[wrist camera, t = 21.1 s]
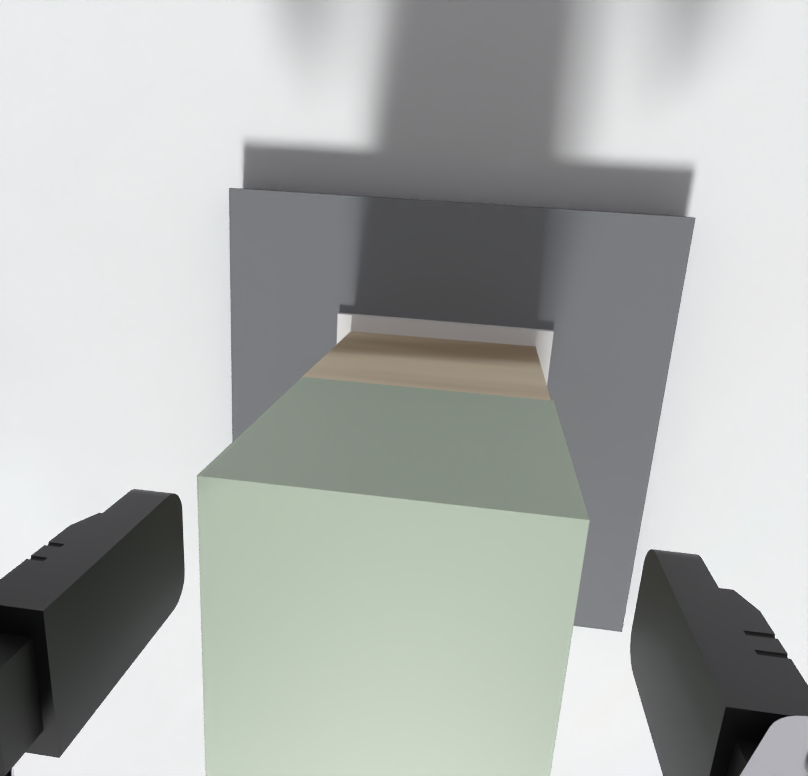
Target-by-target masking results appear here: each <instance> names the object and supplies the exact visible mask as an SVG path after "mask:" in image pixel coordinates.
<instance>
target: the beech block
mask: <svg viewBox="0 0 808 776" xmlns="http://www.w3.org/2000/svg"><path fill="white" fill-rule="evenodd" d="M302 377H309V378H320V379H330V380H341V381H351V382H362V383H372V384H383V385H393V386H404V387H414V388H425V389H435V390H446V391H456V392H467V393H478V394H488V395H499V396H509V397H520V398H530V399H541V400H551V398H550V395H549V392H548V388H547V385H546V381H545V378H544V374H543V371H542V367H541V364H540V360H539V357H538V353H537V350H536V346H524V345H512V344H500V343H487V342H475V341H463V340H451V339H439V338H426V337H414V336H402V335H390V334H378V333H365V332H353V331H350V332H349V333H348V334H347V335H346V336H345V337H344V338H343V339H342V340H341V341H340V342H339V343H338V344H337V345H335V346H334V347H333V348H332V349H331V350H330V351H329V352H328V353H327V354H326V355H325V356H324V357H323V358H322V359H321V360H319V361H318V362H317V363H316V364H315V365H314V366H313V367H312V368H311V369H310V370H309V371H308V372H307V373H306V374H305V375H303V376H302ZM302 377H301V378H302ZM301 378H300V379H301Z"/></svg>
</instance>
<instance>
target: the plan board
mask: <svg viewBox="0 0 808 776" xmlns="http://www.w3.org/2000/svg"><path fill="white" fill-rule="evenodd" d="M229 216H230V289H231V361H232V434H233V441H235V440H236V439H237V438H238V437H239V436H240V435H241V434H242V433H243V432H244V431H245V430H246V429H247V428H248V427H249V426H250V425H252V424H253V423H254V422H255V421H256V420H257V419H258V418H259V417H260V416H261V415H262V414H263V413H264V412H265V411H266V410H268V409H269V408H270V407H271V406H272V405H273V404H274V403H275V402H276V401H277V400H278V399H279V398H280V397H281V396H282V395H283V394H285V393H286V392H287V391H288V390H289V389H290V388H291V387H292V386H293V385H294V384H295V383H296V382H297V381H298V380H299V379H300V378H301V377H302V376H303V375H305V374H306V373H307V372H308V371H309V370H310V369H311V368H312V367H313V366H314V365H315V364H316V363H317V362H318V361H319V360H321V359H322V358H323V357H324V356H325V355H326V354H327V353H328V352H329V351H330V350H331V349H332V348H333V347H334V346H335V345H337V344H338V343H339V342H340V341H341V340H342V339H343V338H344V337H345V336H346V335H347V334H348V333H349V332H350V331H353V332H365V333H378V334H390V335H402V336H414V337H426V338H439V339H451V340H463V341H475V342H487V343H500V344H512V345H524V346H536V350H537V353H538V357H539V360H540V364H541V367H542V371H543V374H544V378H545V381H546V385H547V388H548V392H549V395H550V398H551V401H554V403H555V406H556V410H557V413H558V416H559V420H560V423H561V426H562V430H563V433H564V436H565V440H566V443H567V446H568V450H569V453H570V456H571V460H572V463H573V466H574V470H575V473H576V476H577V480H578V483H579V486H580V490H581V493H582V496H583V500H584V503H585V506H586V510H587V513H588V516H589V520H590V521H589V528H588V534H587V540H586V547H585V553H584V560H583V566H582V573H581V579H580V586H579V592H578V599H577V605H576V611H575V618H574V624H573V626H581V627H588V628H596V629H604V630H612V631H619V632H622V628H623V622H624V616H625V611H626V605H627V599H628V594H629V588H630V583H631V577H632V571H633V566H634V560H635V555H636V549H637V543H638V538H639V532H640V526H641V521H642V515H643V510H644V504H645V498H646V493H647V487H648V481H649V476H650V470H651V465H652V459H653V453H654V448H655V442H656V436H657V431H658V425H659V420H660V414H661V408H662V403H663V397H664V392H665V386H666V380H667V375H668V369H669V363H670V358H671V352H672V347H673V341H674V335H675V330H676V324H677V318H678V313H679V307H680V302H681V296H682V290H683V285H684V279H685V274H686V268H687V262H688V257H689V251H690V245H691V240H692V234H693V229H694V223H695V218H692V217H681V216H665V215H650V214H634V213H618V212H602V211H587V210H571V209H555V208H539V207H524V206H508V205H492V204H476V203H461V202H445V201H429V200H413V199H398V198H382V197H366V196H350V195H335V194H319V193H303V192H287V191H272V190H256V189H238V188H229Z"/></svg>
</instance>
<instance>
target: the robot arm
mask: <svg viewBox="0 0 808 776" xmlns="http://www.w3.org/2000/svg"><path fill="white" fill-rule="evenodd" d="M183 584H184V545H183V519H182V505H181V501H180V498H179V496H178V495H176V494H173V493H164V492H155V491H146V490H138V489H134V490H131V491H130V492H128V493H127V494H126V495H125V496H123V497H122V498H121V499H120V500H118V501H117V502H116V503H115V504H113V505H112V506H111V507H110V508H108V509H107V510H106V511H105V512H104V513H98V514H96V515H93V516H91V517H89V518H86V519H84V520H82V521H79V522H77V523H75V524H72V525H70V526H69V527H67V528H66V529H65V530H64V531H62V532H61V533H60V534H58V535H57V536H56V537H55V538H53V539H52V540H51V541H49V544H48V546H46V545H44V546H43V547H42V548H40V549H39V550H38V551H36V552H35V553H34V554H33V555H31V559H26V560H25V561H24V562H22V563H21V564H20V565H18V566H17V567H16V568H15V569H13V570H12V571H11V572H9V573H8V574H7V575H6V576H4V577H3V578H2V579H0V776H14V771H13V766H14V765H15V764H16V763H17V761H18V760H19V759H20V758H21V757H22V755H23V754H24V753H25V752H27V753H33V754H39V755H46V756H52V757H58V758H60V756H61V755H62V754H63V752H64V751H65V750H66V748H67V747H68V746H69V745H70V743H71V742H72V741H73V739H74V738H75V737H76V736H77V734H78V733H79V732H80V730H81V729H82V728H83V726H84V725H85V724H86V723H87V721H88V720H89V719H90V717H91V716H92V715H93V714H94V712H95V711H96V710H97V708H98V707H99V706H100V705H101V703H102V702H103V701H104V699H105V698H106V697H107V695H108V694H109V693H110V692H111V690H112V689H113V688H114V686H115V685H116V684H117V683H118V681H119V680H120V679H121V677H122V676H123V675H124V673H125V672H126V671H127V670H128V668H129V667H130V666H131V664H132V663H133V662H134V661H135V659H136V658H137V657H138V655H139V654H140V653H141V651H142V650H143V649H144V648H145V646H146V645H147V644H148V642H149V641H150V640H151V639H152V637H153V636H154V635H155V633H156V632H157V631H158V630H159V628H160V627H161V626H162V624H163V623H164V622H165V620H166V619H167V618H168V617H169V615H170V614H171V613H172V611H173V610H174V609H175V607H176V605H177V603H178V601H179V598H180V596H181V592H182V589H183ZM630 654H631V665H632V671H633V675H634V678H635V682H636V685H637V688H638V692H639V695H640V698H641V702H642V705H643V709H644V712H645V715H646V719H647V722H648V726H649V729H650V732H651V736H652V739H653V743H654V746H655V749H656V753H657V756H658V760H659V763H660V766H661V770H662V773H663V776H808V685H807V683H806V682H805V680H804V679H803V677H802V676H801V674H800V673H799V671H798V669H797V668H796V666H795V665H794V663H793V662H792V660H791V659H788V658H787V652H786V651H785V649H784V648H783V646H782V645H781V643H780V642H779V640H778V639H775V634H774V632H773V631H772V629H771V628H770V626H769V624H768V623H767V621H766V620H765V618H764V617H763V615H762V614H761V612H760V611H759V610H758V609H757V608H755V607H754V606H753V605H752V604H750V603H749V602H748V601H747V600H745V599H744V598H743V597H742V596H740V595H739V594H738V593H737V592H735V591H734V590H730V589H722V588H718V586H717V584H716V582H715V581H714V579H713V577H712V575H711V574H710V572H709V570H708V569H707V567H706V565H705V563H704V562H703V560H702V558H701V557H700V556H699V555H696V554H687V553H679V552H670V551H661V550H652V549H651V550H649V551H648V553H647V555H646V557H645V561H644V565H643V571H642V576H641V582H640V587H639V593H638V598H637V604H636V609H635V615H634V620H633V626H632V632H631V643H630Z"/></svg>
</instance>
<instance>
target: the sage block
mask: <svg viewBox="0 0 808 776" xmlns="http://www.w3.org/2000/svg"><path fill="white" fill-rule="evenodd" d="M197 493H198V528H199V563H200V597H201V632H202V666H203V701H204V735H205V770H206V776H550V773H551V766H552V760H553V753H554V747H555V740H556V734H557V727H558V721H559V715H560V708H561V702H562V695H563V689H564V682H565V676H566V669H567V663H568V657H569V650H570V644H571V637H572V631H573V624H574V618H575V611H576V605H577V599H578V592H579V586H580V579H581V573H582V566H583V560H584V553H585V547H586V540H587V534H588V528H589V521H590V520H589V516H588V513H587V510H586V506H585V503H584V500H583V496H582V493H581V490H580V486H579V483H578V480H577V476H576V473H575V470H574V466H573V463H572V460H571V456H570V453H569V450H568V446H567V443H566V440H565V436H564V433H563V430H562V426H561V423H560V420H559V416H558V413H557V410H556V406H555V403H554V401H551V400H541V399H530V398H520V397H509V396H499V395H488V394H478V393H467V392H456V391H446V390H435V389H425V388H414V387H404V386H393V385H383V384H372V383H362V382H351V381H341V380H330V379H320V378H309V377H302V378H301V379H299V380H298V381H297V382H296V383H295V384H294V385H293V386H292V387H291V388H290V389H289V390H288V391H287V392H286V393H285V394H283V395H282V396H281V397H280V398H279V399H278V400H277V401H276V402H275V403H274V404H273V405H272V406H271V407H270V408H269V409H268V410H266V411H265V412H264V413H263V414H262V415H261V416H260V417H259V418H258V419H257V420H256V421H255V422H254V423H253V424H252V425H250V426H249V427H248V428H247V429H246V430H245V431H244V432H243V433H242V434H241V435H240V436H239V437H238V438H237V439H236V440H235V441H233V442H232V443H231V444H230V445H229V446H228V447H227V448H226V449H225V450H224V451H223V452H222V453H221V454H220V455H219V456H218V457H216V458H215V459H214V460H213V461H212V462H211V463H210V464H209V465H208V466H207V467H206V468H205V469H204V470H203V471H202V472H200V473H199V474H198V475H197Z"/></svg>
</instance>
